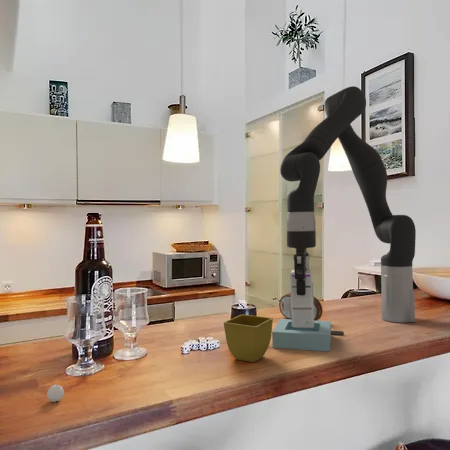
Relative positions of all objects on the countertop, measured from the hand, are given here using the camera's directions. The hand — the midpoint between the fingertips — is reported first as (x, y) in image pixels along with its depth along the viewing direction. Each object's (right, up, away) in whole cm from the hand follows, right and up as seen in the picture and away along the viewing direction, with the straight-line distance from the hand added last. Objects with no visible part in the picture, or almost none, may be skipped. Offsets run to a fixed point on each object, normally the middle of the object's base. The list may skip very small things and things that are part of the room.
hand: (302, 292), depth 106 cm
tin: (+4, -13, +23) cm, 27 cm away
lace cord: (+4, -13, +8) cm, 15 cm away
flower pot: (-15, -13, -12) cm, 23 cm away
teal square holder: (0, -13, 0) cm, 13 cm away
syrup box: (0, -9, 0) cm, 9 cm away
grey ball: (-51, -14, -33) cm, 63 cm away
